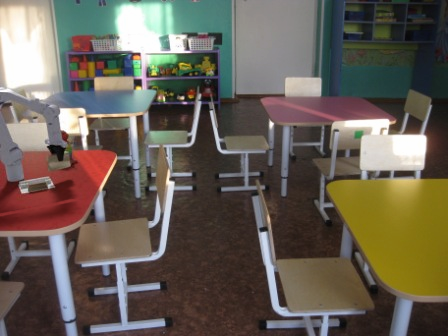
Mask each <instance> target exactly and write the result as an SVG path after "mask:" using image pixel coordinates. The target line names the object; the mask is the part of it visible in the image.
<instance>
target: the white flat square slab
mask: <svg viewBox="0 0 448 336" xmlns="http://www.w3.org/2000/svg"><path fill="white" fill-rule="evenodd" d="M44 180H45V181H46V183H47V185H48V188H47V189H46V190H49V189H54V188H56V186H55V185H54V182H53V181H52V179H51V178H50V176H44V177H38V178H33V179H27V180H20V181H18V183H19V184H18V188H19V189H20V190H19V191H20V192H21V194H22V195H23V194H26V193H27V194H28V193H31V192H32V193H34V192H39V191H40V190H36V191H31V192H29V191H28V186H29V185H28V183H32V182H38V181H44ZM41 191H45V189H42V190H41Z"/></svg>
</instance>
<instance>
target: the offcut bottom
mask: <svg viewBox="0 0 448 336" xmlns="http://www.w3.org/2000/svg"><path fill="white" fill-rule="evenodd" d="M47 188H48V185H47V183H46V186H40V187H35V188H29V186H28V191H29V192H28V193H31V191H34V192H37V191H36V190H39V191H43V190H42V189H44V190H48V189H47Z"/></svg>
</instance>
